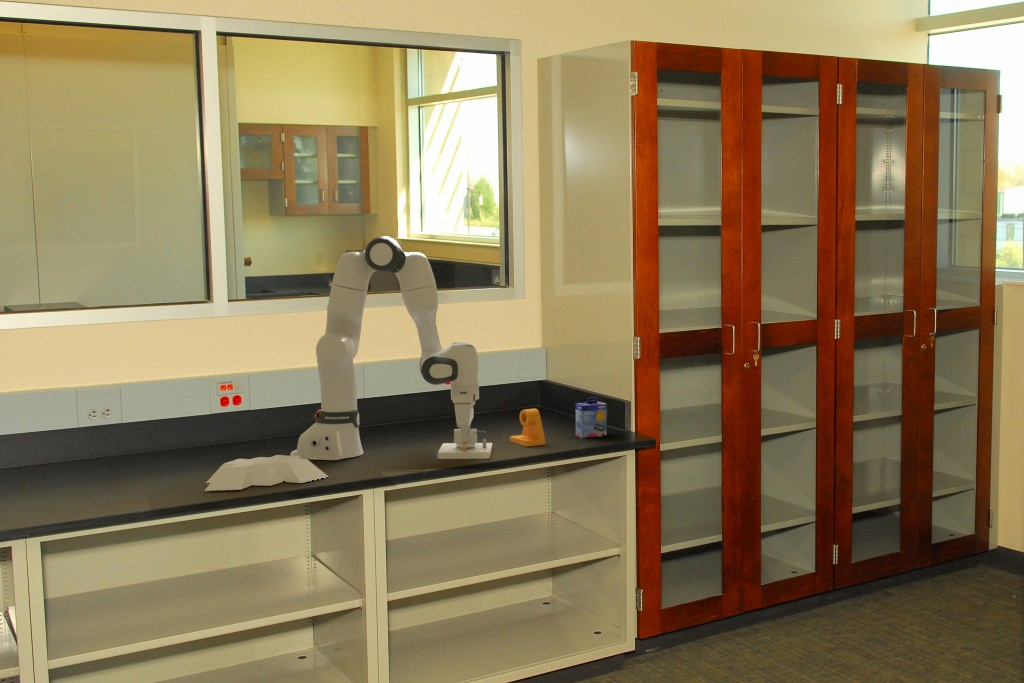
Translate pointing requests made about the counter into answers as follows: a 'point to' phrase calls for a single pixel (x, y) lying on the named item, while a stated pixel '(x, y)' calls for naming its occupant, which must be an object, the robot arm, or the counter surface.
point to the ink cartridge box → (591, 418)
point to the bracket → (530, 429)
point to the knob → (470, 441)
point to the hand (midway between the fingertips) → (466, 437)
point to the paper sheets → (263, 472)
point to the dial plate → (465, 451)
